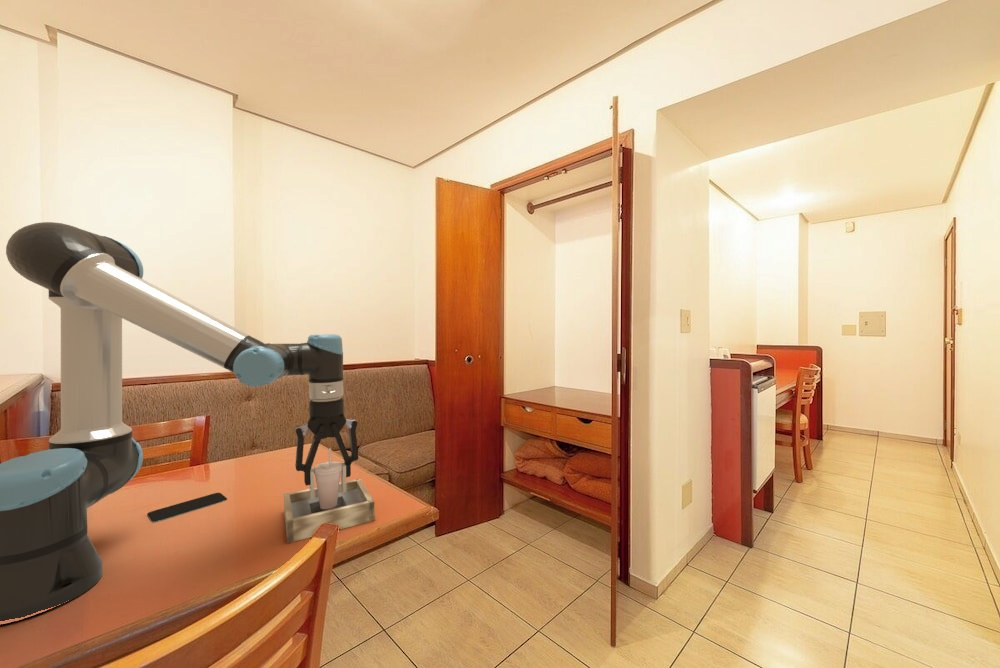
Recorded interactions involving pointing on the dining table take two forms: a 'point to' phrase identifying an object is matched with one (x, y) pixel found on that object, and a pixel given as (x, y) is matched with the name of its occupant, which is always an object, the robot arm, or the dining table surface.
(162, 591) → the dining table surface
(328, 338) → the robot arm
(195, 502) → the smartphone
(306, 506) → the socket box
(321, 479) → the smoothie
